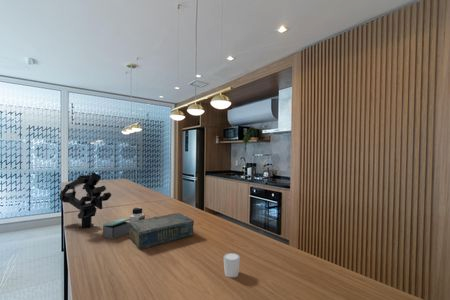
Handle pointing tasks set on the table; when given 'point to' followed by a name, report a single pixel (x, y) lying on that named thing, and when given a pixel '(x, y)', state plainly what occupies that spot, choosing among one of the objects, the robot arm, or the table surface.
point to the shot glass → (231, 264)
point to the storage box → (116, 230)
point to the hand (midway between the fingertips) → (101, 208)
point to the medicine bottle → (137, 215)
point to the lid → (115, 222)
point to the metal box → (160, 230)
